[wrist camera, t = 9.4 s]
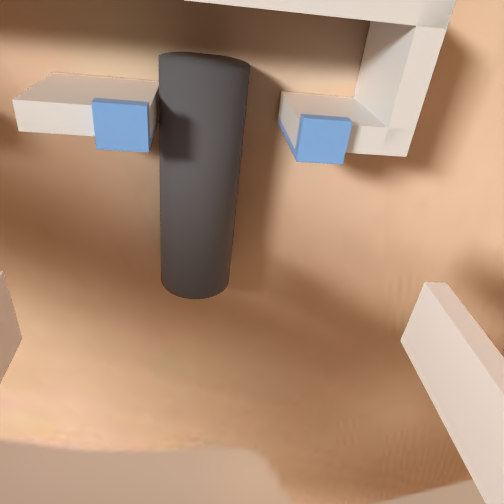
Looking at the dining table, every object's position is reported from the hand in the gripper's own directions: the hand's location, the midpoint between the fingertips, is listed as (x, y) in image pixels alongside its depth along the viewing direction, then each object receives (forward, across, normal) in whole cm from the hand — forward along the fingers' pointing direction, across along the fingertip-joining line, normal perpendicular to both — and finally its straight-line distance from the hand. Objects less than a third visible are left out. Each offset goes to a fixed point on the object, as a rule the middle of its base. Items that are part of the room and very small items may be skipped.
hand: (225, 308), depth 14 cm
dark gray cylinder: (+12, 0, 0) cm, 12 cm away
